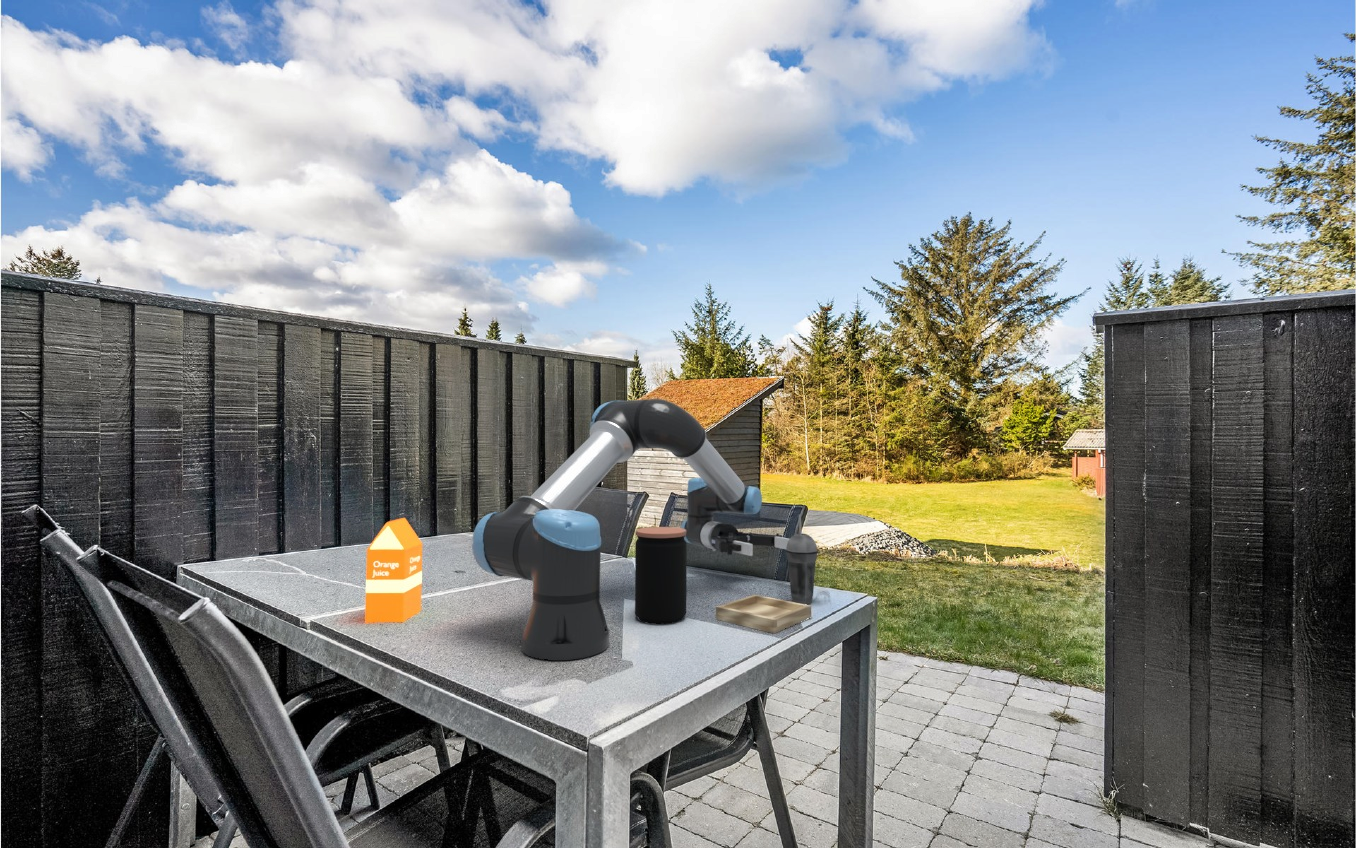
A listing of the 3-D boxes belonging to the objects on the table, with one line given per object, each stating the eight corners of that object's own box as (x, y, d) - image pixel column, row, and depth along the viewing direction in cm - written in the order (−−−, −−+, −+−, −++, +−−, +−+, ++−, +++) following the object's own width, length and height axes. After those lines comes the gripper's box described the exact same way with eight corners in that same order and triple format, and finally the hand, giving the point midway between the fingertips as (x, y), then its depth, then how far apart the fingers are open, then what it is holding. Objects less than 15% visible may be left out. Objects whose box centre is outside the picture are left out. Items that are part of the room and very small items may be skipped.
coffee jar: (688, 611, 125) (688, 527, 126) (684, 626, 114) (684, 534, 115) (639, 610, 126) (639, 526, 127) (630, 624, 116) (631, 533, 116)
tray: (716, 619, 119) (716, 606, 120) (755, 605, 130) (755, 594, 130) (774, 633, 110) (774, 620, 110) (811, 618, 120) (811, 605, 121)
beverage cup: (822, 600, 134) (821, 513, 135) (812, 608, 128) (811, 516, 129) (792, 596, 138) (791, 511, 139) (781, 603, 132) (780, 514, 133)
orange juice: (421, 611, 125) (423, 517, 126) (403, 623, 116) (406, 522, 117) (384, 611, 125) (387, 517, 126) (363, 623, 116) (366, 522, 117)
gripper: (755, 546, 166) (809, 558, 148) (682, 554, 153) (732, 568, 135) (755, 520, 167) (809, 528, 149) (682, 526, 153) (732, 535, 135)
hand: (773, 547), depth 142 cm, fingers open, 13 cm apart
